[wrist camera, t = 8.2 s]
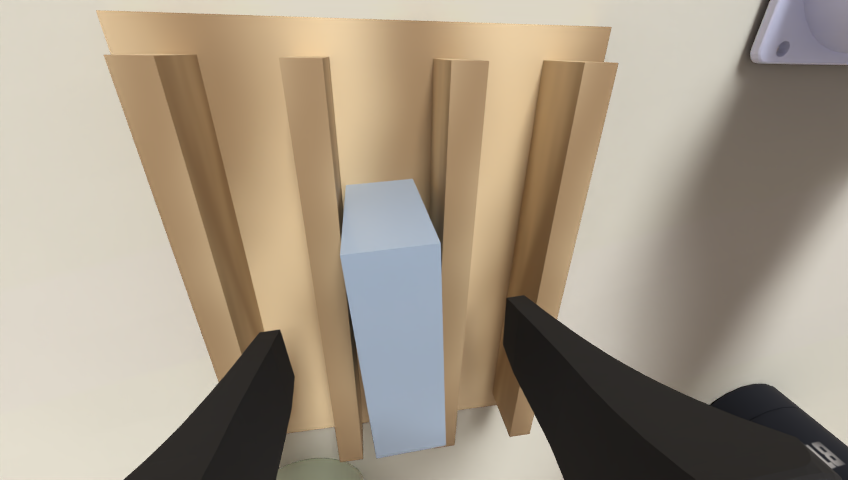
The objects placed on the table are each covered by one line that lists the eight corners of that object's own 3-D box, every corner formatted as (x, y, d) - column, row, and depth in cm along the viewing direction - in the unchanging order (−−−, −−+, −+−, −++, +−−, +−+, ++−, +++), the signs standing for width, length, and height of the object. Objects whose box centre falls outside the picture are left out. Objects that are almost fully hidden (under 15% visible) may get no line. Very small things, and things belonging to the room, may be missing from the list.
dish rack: (593, 28, 13) (669, 21, 10) (521, 386, 21) (548, 443, 18) (117, 13, 10) (18, -2, 7) (248, 421, 19) (227, 493, 16)
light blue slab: (412, 178, 13) (440, 243, 9) (422, 343, 17) (445, 445, 12) (345, 185, 13) (340, 254, 8) (371, 350, 17) (376, 458, 12)
